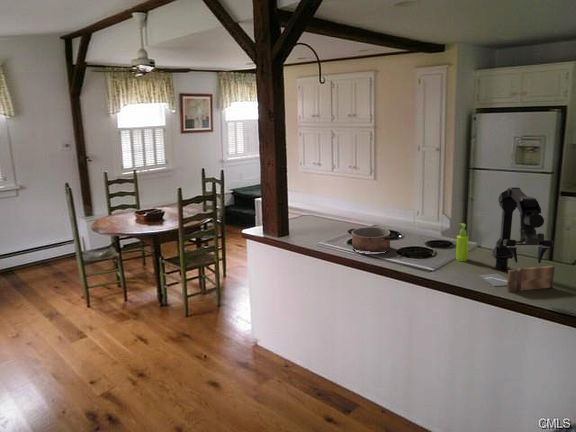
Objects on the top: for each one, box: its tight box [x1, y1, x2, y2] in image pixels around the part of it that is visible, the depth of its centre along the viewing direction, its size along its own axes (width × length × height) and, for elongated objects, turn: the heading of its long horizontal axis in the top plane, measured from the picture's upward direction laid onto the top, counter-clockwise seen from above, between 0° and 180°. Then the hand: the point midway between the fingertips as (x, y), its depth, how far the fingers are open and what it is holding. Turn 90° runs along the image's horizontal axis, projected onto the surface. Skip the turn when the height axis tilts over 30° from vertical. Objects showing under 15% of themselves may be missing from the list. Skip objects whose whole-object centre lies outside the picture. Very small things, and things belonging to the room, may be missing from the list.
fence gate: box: [521, 264, 556, 291], centre depth 206 cm, size 15×2×10 cm, turn 96°
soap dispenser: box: [455, 222, 470, 262], centre depth 247 cm, size 6×7×20 cm
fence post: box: [506, 267, 523, 293], centre depth 205 cm, size 6×2×10 cm, turn 96°
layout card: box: [478, 273, 508, 288], centre depth 219 cm, size 14×10×1 cm
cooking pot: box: [347, 226, 396, 252], centre depth 272 cm, size 30×22×11 cm
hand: (527, 263), depth 197 cm, fingers open, 9 cm apart
